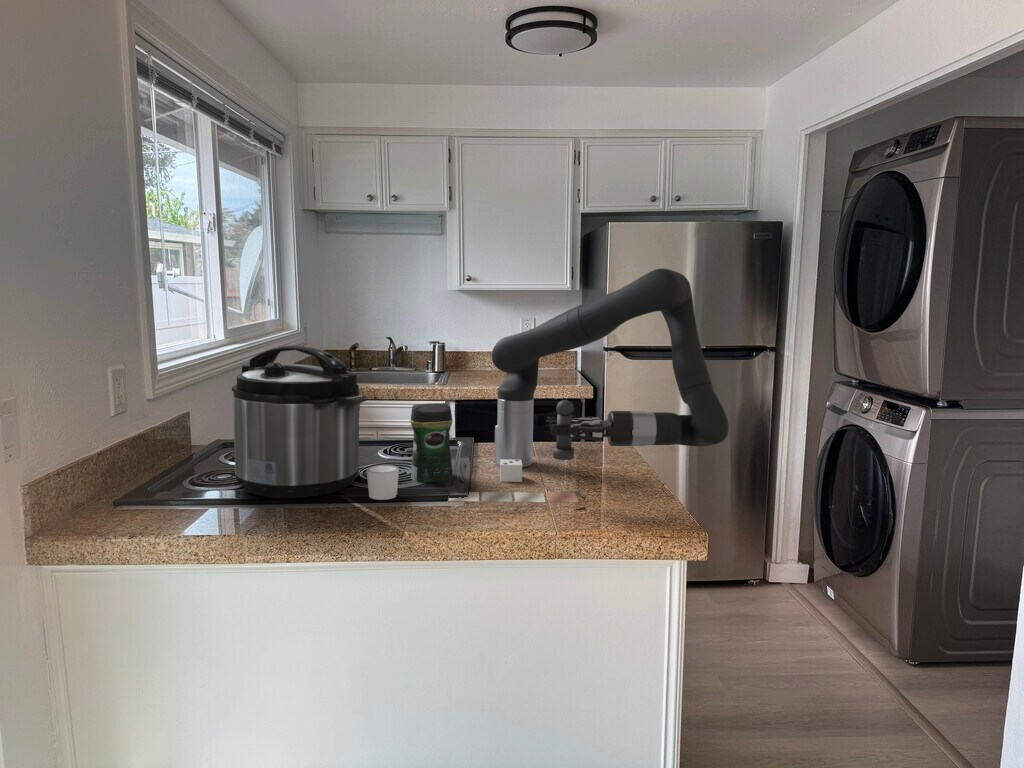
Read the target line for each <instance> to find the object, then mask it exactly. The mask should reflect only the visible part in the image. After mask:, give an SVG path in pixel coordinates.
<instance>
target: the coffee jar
mask: <svg viewBox="0 0 1024 768" xmlns="http://www.w3.org/2000/svg"><path fill="white" fill-rule="evenodd" d="M410 412H411V413H410V419H409V421H410V426H411V428H412V430H413V446H412V447H413V448H412V449H413V450H412V458H411V470H410V471H411V472H410V477H411V480H412V481H414V482H417V483H431V482H432V483H433V482H434V483H436V482H446V481H450V480H452V479H453V476H454V474H453V473H454V472H453V465H452V456H451V455H452V453H451V447H450V444H451V443H450V431H451V427H452V425H453V415H452V408H451V406H450V405H449V404H447V403H446V402H445V403H444V402H441V403H440V402H431V403H420V404H413V405H412V407H411V411H410Z"/></svg>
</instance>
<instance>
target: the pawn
mask: <svg viewBox="0 0 1024 768" xmlns="http://www.w3.org/2000/svg"><path fill="white" fill-rule="evenodd" d="M556 412H557V415H556V416H557V417H556V421H557V424H564V425H568V424H569V427H570V424H572V418H573V412H574V404H573V403H572V402H571V401H570V400H568V399H562V400H560V401H558V402H557V404H556ZM572 439H573V437H570V434H569V435H556V440H555V441H556V446H554V447H553V448H552V449H553V453H552V454H553V455H552V456H553V457H552V458H553V459H555V460H559V461H568V460H569V461H571V460H573V459H575V447H573V446H572V445H573V442H572V441H573V440H572Z"/></svg>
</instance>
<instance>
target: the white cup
mask: <svg viewBox="0 0 1024 768" xmlns="http://www.w3.org/2000/svg"><path fill="white" fill-rule="evenodd" d="M399 473H400V467H398V466H395V465H391V464H389V465H388V464H379V465H373V466H369V467H367V468H366V476H367V477H366V478H367V486H368V488H367V489H368V496H369V497H368V498H370V499H373V500H377V501H383V500H392V499H394V498H396V497H397V496H396V495H398V484H399Z"/></svg>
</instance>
